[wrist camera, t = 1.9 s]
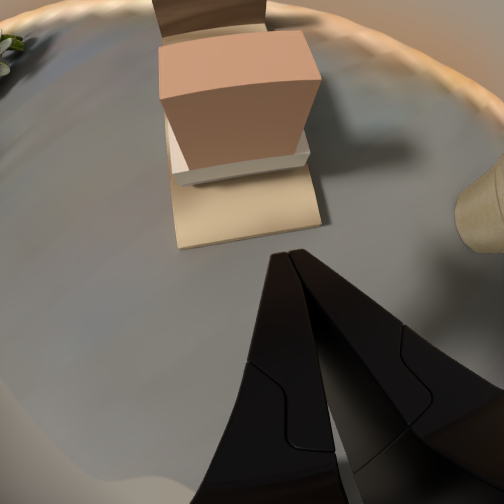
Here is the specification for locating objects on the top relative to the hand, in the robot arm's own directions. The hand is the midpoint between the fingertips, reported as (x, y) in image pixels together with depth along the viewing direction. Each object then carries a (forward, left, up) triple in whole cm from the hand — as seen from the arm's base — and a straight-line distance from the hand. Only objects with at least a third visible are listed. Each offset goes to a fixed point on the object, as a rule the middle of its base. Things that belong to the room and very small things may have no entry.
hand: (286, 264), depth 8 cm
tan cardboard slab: (+13, -6, -14) cm, 20 cm away
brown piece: (+11, -5, -12) cm, 17 cm away
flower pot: (-8, -20, -14) cm, 25 cm away
